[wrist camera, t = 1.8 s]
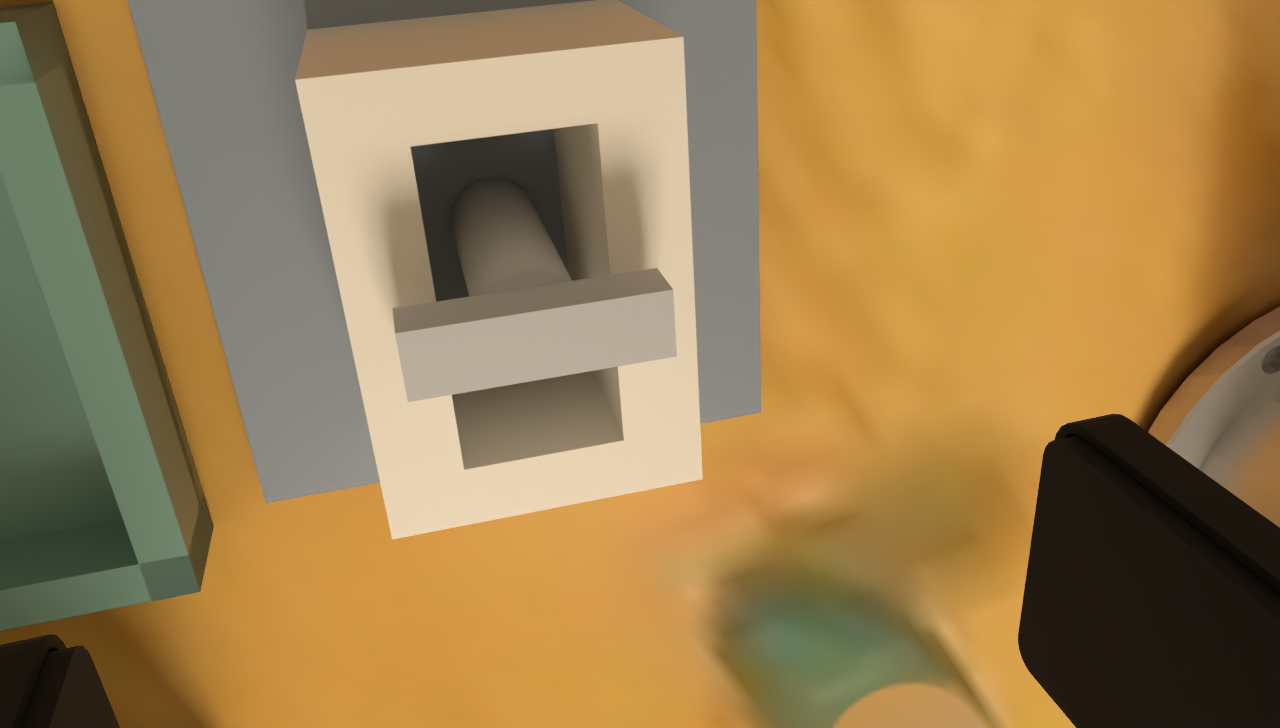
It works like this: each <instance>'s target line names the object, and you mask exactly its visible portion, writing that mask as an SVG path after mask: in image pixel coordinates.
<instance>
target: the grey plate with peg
mask: <svg viewBox="0 0 1280 728" xmlns="http://www.w3.org/2000/svg"><path fill="white" fill-rule="evenodd" d="M583 1H593V0H128V3H129V7H130V10H131V14H132V18H133V21H134V25H135V28H136V32H137V36H138V39H139V43H140V47H141V50H142V54H143V58H144V61H145V65H146V69H147V72H148V76H149V79H150V83H151V87H152V90H153V94H154V98H155V101H156V105H157V109H158V112H159V116H160V120H161V123H162V127H163V130H164V134H165V138H166V141H167V145H168V149H169V152H170V156H171V160H172V163H173V167H174V171H175V174H176V178H177V181H178V185H179V189H180V192H181V196H182V200H183V203H184V207H185V211H186V214H187V218H188V222H189V225H190V229H191V232H192V236H193V240H194V243H195V247H196V251H197V254H198V258H199V262H200V265H201V269H202V273H203V276H204V280H205V284H206V287H207V291H208V294H209V298H210V302H211V305H212V309H213V313H214V316H215V320H216V324H217V327H218V331H219V335H220V338H221V342H222V345H223V349H224V353H225V356H226V360H227V364H228V367H229V371H230V375H231V378H232V382H233V386H234V389H235V393H236V396H237V400H238V404H239V407H240V411H241V415H242V418H243V422H244V426H245V429H246V433H247V437H248V440H249V444H250V447H251V451H252V455H253V458H254V462H255V466H256V469H257V473H258V477H259V480H260V484H261V488H262V491H263V495H264V498H265V502H266V503H270V502H276V501H281V500H287V499H292V498H297V497H303V496H308V495H314V494H319V493H325V492H330V491H336V490H341V489H346V488H352V487H357V486H363V485H368V484H374V483H379V482H380V479H379V474H378V470H377V465H376V460H375V456H374V451H373V446H372V441H371V437H370V432H369V427H368V422H367V418H366V413H365V408H364V404H363V399H362V394H361V389H360V385H359V380H358V375H357V370H356V366H355V361H354V356H353V352H352V347H351V342H350V337H349V333H348V328H347V323H346V319H345V314H344V309H343V304H342V300H341V295H340V290H339V285H338V281H337V276H336V271H335V267H334V262H333V257H332V252H331V248H330V243H329V238H328V233H327V229H326V224H325V219H324V215H323V210H322V205H321V200H320V196H319V191H318V186H317V181H316V177H315V172H314V167H313V163H312V158H311V153H310V148H309V144H308V139H307V134H306V129H305V125H304V120H303V115H302V111H301V106H300V101H299V96H298V92H297V87H296V82H295V78H296V74H297V70H298V66H299V62H300V57H301V53H302V49H303V45H304V41H305V37H306V33H307V30H308V29H318V28H328V27H338V26H347V25H357V24H367V23H377V22H387V21H397V20H406V19H416V18H426V17H436V16H446V15H455V14H465V13H475V12H485V11H495V10H504V9H514V8H524V7H534V6H544V5H554V4H563V3H573V2H583ZM618 1H620V2H622V3H624V4H626V5H627V6H629V7H631V8H633V9H635V10H636V11H638V12H640V13H642V14H643V15H645V16H647V17H649V18H651V19H652V20H654V21H656V22H658V23H660V24H661V25H663V26H665V27H667V28H669V29H670V30H672V31H674V32H676V33H678V34H679V35H681V36H683V37H684V59H685V82H686V106H687V129H688V152H689V176H690V199H691V222H692V245H693V269H694V292H695V315H696V338H697V362H698V385H699V408H700V424H701V423H706V422H712V421H717V420H722V419H728V418H733V417H739V416H744V415H750V414H755V413H761V370H760V287H759V204H758V121H757V37H756V0H618ZM410 148H411V154H412V160H413V166H414V172H415V178H416V184H417V190H418V196H419V202H420V208H421V214H422V220H423V226H424V232H425V238H426V244H427V250H428V256H429V262H430V268H431V274H432V280H433V286H434V292H435V298H436V302H431V303H424V304H418V305H411V306H405V307H398V308H393V318H394V329H395V337H396V342H397V347H398V353H399V358H400V363H401V368H402V374H403V379H404V384H405V390H406V395H407V400H408V402H412V401H418V400H424V399H430V398H436V397H442V396H447V395H453V394H459V393H465V392H471V391H477V390H483V389H489V388H495V387H500V386H506V385H512V384H518V383H524V382H530V381H536V380H542V379H547V378H553V377H559V376H565V375H571V374H577V373H583V372H589V371H594V370H600V369H606V368H612V367H618V366H624V365H630V364H636V363H641V362H647V361H653V360H659V359H665V358H671V357H677V350H676V332H675V313H674V294H673V289H672V287H671V286H670V284H669V283H668V282H667V280H666V279H665V278H664V276H663V275H662V274H661V272H660V271H659V270H658V268H653V269H647V270H640V271H634V272H627V273H620V274H614V275H607V276H601V277H594V278H588V279H581V280H575V281H572V279H571V278H570V276H569V274H568V267H567V257H566V248H565V238H564V228H563V218H562V208H561V199H560V189H559V179H558V169H557V159H556V150H555V140H554V130H553V129H547V130H539V131H531V132H523V133H515V134H507V135H499V136H491V137H483V138H475V139H467V140H459V141H451V142H443V143H435V144H427V145H419V146H411V147H410Z"/></svg>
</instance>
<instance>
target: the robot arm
mask: <svg viewBox="0 0 1280 728" xmlns="http://www.w3.org/2000/svg"><path fill="white" fill-rule="evenodd" d="M1018 644H1019V650H1020V653H1021V656H1022V659H1023V661H1024V663H1025V665H1026V667H1027V669H1028V670H1029V672H1030V673H1031V674H1032V675H1033V677H1034V678H1035V679H1036V680H1037V681H1038V683H1039V684H1040V685H1041V686H1042V687H1043V689H1044V690H1045V691H1046V692H1047V693H1048V694H1049V696H1050V697H1051V698H1052V699H1053V700H1054V702H1055V703H1056V704H1057V705H1058V706H1059V708H1060V709H1061V710H1062V711H1063V712H1064V713H1065V715H1066V716H1067V717H1068V718H1069V719H1070V721H1071V722H1072V723H1073V724H1074V725H1075V727H1076V728H1280V307H1278V308H1276V309H1274V310H1273V311H1271V312H1269V313H1267V314H1265V315H1264V316H1262V317H1260V318H1258V319H1256V320H1255V321H1253V322H1251V323H1250V324H1249V325H1247V326H1246V327H1245V328H1243V329H1242V330H1241V331H1239V332H1238V333H1237V334H1235V335H1234V336H1233V337H1231V338H1230V339H1229V340H1227V341H1226V342H1225V343H1223V344H1222V345H1221V346H1219V347H1218V348H1217V349H1216V350H1215V351H1214V352H1213V353H1212V354H1211V355H1210V356H1208V357H1207V358H1206V359H1205V360H1204V361H1203V362H1202V363H1201V364H1200V365H1199V366H1198V367H1197V368H1196V369H1195V370H1194V371H1193V372H1192V373H1191V374H1190V375H1189V376H1188V377H1187V378H1186V379H1185V380H1184V382H1183V383H1182V384H1181V385H1180V387H1179V388H1178V389H1177V390H1176V392H1175V393H1174V394H1173V396H1172V397H1171V398H1170V399H1169V401H1168V402H1167V403H1166V404H1165V406H1164V407H1163V408H1162V409H1161V411H1160V412H1159V414H1158V416H1157V417H1156V419H1155V421H1154V422H1153V424H1152V426H1151V427H1150V429H1149V431H1148V432H1147V431H1145V430H1144V429H1142V428H1141V427H1140V426H1138V425H1137V424H1136V423H1134V422H1133V421H1131V420H1130V419H1128V418H1126V417H1124V416H1122V415H1120V414H1110V415H1105V416H1101V417H1096V418H1091V419H1086V420H1081V421H1077V422H1072V423H1067V424H1066V425H1064V426H1062V427H1061V428H1060V429H1059V431H1058V432H1057V433H1056V437H1055V440H1054V441H1052V442H1050V443H1048V445H1047V446H1046V448H1045V451H1044V454H1043V461H1042V468H1041V475H1040V482H1039V489H1038V497H1037V504H1036V511H1035V518H1034V525H1033V533H1032V540H1031V547H1030V554H1029V561H1028V569H1027V576H1026V583H1025V590H1024V597H1023V605H1022V612H1021V619H1020V626H1019V633H1018ZM0 728H120V727H119V725H118V722H117V720H116V717H115V715H114V712H113V710H112V707H111V705H110V702H109V700H108V698H107V695H106V693H105V690H104V688H103V685H102V683H101V680H100V678H99V675H98V673H97V670H96V668H95V665H94V663H93V660H92V658H91V656H90V654H89V652H88V651H87V650H86V649H85V648H84V647H83V646H76V647H71V648H66V647H65V645H64V643H63V641H62V640H61V639H60V638H59V637H58V636H56V635H46V636H41V637H36V638H32V639H27V640H22V641H17V642H12V643H7V644H3V645H0Z"/></svg>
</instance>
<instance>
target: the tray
mask: <svg viewBox="0 0 1280 728" xmlns="http://www.w3.org/2000/svg"><path fill="white" fill-rule="evenodd" d="M212 531H213V524H212V521H211V517H210V514H209V511H208V508H207V504H206V501H205V498H204V495H203V491H202V488H201V485H200V482H199V478H198V475H197V472H196V468H195V465H194V462H193V459H192V455H191V452H190V449H189V446H188V442H187V439H186V436H185V432H184V429H183V426H182V423H181V419H180V416H179V413H178V410H177V406H176V403H175V400H174V397H173V393H172V390H171V387H170V383H169V380H168V377H167V374H166V370H165V367H164V364H163V361H162V357H161V354H160V351H159V348H158V344H157V341H156V338H155V334H154V331H153V328H152V325H151V321H150V318H149V315H148V312H147V308H146V305H145V302H144V298H143V295H142V292H141V289H140V285H139V282H138V279H137V276H136V272H135V269H134V266H133V263H132V259H131V256H130V253H129V249H128V246H127V243H126V240H125V236H124V233H123V230H122V227H121V223H120V220H119V217H118V214H117V210H116V207H115V204H114V200H113V197H112V194H111V191H110V187H109V184H108V181H107V178H106V174H105V171H104V168H103V164H102V161H101V158H100V155H99V151H98V148H97V145H96V142H95V138H94V135H93V132H92V129H91V125H90V122H89V119H88V115H87V112H86V109H85V106H84V102H83V99H82V96H81V93H80V89H79V86H78V83H77V80H76V76H75V73H74V70H73V66H72V63H71V60H70V57H69V53H68V50H67V47H66V44H65V40H64V37H63V34H62V31H61V27H60V24H59V21H58V17H57V14H56V11H55V8H54V4H53V3H43V4H32V5H21V6H11V7H0V631H3V630H8V629H13V628H18V627H23V626H28V625H33V624H38V623H43V622H48V621H53V620H59V619H64V618H69V617H74V616H79V615H84V614H89V613H94V612H99V611H104V610H109V609H114V608H120V607H125V606H130V605H135V604H140V603H145V602H150V601H155V600H160V599H165V598H170V597H176V596H181V595H186V594H191V593H196V592H200V590H201V585H202V580H203V575H204V571H205V566H206V561H207V556H208V551H209V546H210V541H211V536H212Z"/></svg>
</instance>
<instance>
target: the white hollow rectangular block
mask: <svg viewBox="0 0 1280 728" xmlns="http://www.w3.org/2000/svg"><path fill="white" fill-rule="evenodd" d="M295 82H296V87H297V92H298V96H299V101H300V106H301V111H302V115H303V120H304V125H305V129H306V134H307V139H308V144H309V148H310V153H311V158H312V163H313V167H314V172H315V177H316V181H317V186H318V191H319V196H320V200H321V205H322V210H323V215H324V219H325V224H326V229H327V233H328V238H329V243H330V248H331V252H332V257H333V262H334V267H335V271H336V276H337V281H338V285H339V290H340V295H341V300H342V304H343V309H344V314H345V319H346V323H347V328H348V333H349V337H350V342H351V347H352V352H353V356H354V361H355V366H356V370H357V375H358V380H359V385H360V389H361V394H362V399H363V404H364V408H365V413H366V418H367V422H368V427H369V432H370V437H371V441H372V446H373V451H374V456H375V460H376V465H377V470H378V474H379V479H380V484H381V489H382V493H383V498H384V503H385V508H386V512H387V517H388V522H389V526H390V531H391V536H392V539H397V538H402V537H407V536H412V535H417V534H422V533H428V532H433V531H438V530H443V529H448V528H453V527H459V526H464V525H469V524H474V523H479V522H484V521H489V520H495V519H500V518H505V517H510V516H515V515H520V514H526V513H531V512H536V511H541V510H546V509H551V508H556V507H562V506H567V505H572V504H577V503H582V502H587V501H593V500H598V499H603V498H608V497H613V496H618V495H623V494H629V493H634V492H639V491H644V490H649V489H654V488H659V487H665V486H670V485H675V484H680V483H685V482H690V481H696V480H701V479H703V478H702V455H701V432H700V408H699V385H698V362H697V338H696V315H695V292H694V269H693V245H692V222H691V199H690V176H689V152H688V129H687V106H686V82H685V59H684V37H683V36H681V35H679V34H678V33H676V32H674V31H672V30H670V29H669V28H667V27H665V26H663V25H661V24H660V23H658V22H656V21H654V20H652V19H651V18H649V17H647V16H645V15H643V14H642V13H640V12H638V11H636V10H635V9H633V8H631V7H629V6H627V5H626V4H624V3H622V2H620V1H618V0H593V1H583V2H573V3H563V4H554V5H544V6H534V7H524V8H514V9H504V10H495V11H485V12H475V13H465V14H455V15H446V16H436V17H426V18H416V19H406V20H397V21H387V22H377V23H367V24H357V25H347V26H338V27H328V28H318V29H308V30H307V33H306V37H305V41H304V45H303V49H302V53H301V57H300V62H299V66H298V70H297V74H296V78H295ZM547 129H553V130H554V140H555V150H556V159H557V169H558V179H559V189H560V199H561V208H562V218H563V228H564V238H565V248H566V257H567V267H568V274H569V276H570V278H571V279H572V281H575V280H581V279H588V278H594V277H601V276H607V275H614V274H620V273H627V272H634V271H640V270H647V269H653V268H658V270H659V271H660V272H661V274H662V275H663V276H664V278H665V279H666V280H667V282H668V283H669V284H670V286H671V287H672V289H673V294H674V313H675V332H676V350H677V357H671V358H665V359H659V360H653V361H647V362H641V363H636V364H630V365H624V366H618V367H612V368H606V369H600V370H594V371H589V372H583V373H577V374H571V375H565V376H559V377H553V378H547V379H542V380H536V381H530V382H524V383H518V384H512V385H506V386H500V387H495V388H489V389H483V390H477V391H471V392H465V393H459V394H453V395H447V396H442V397H436V398H430V399H424V400H418V401H412V402H408V400H407V395H406V390H405V384H404V379H403V374H402V368H401V363H400V358H399V353H398V347H397V342H396V337H395V329H394V318H393V308H398V307H405V306H411V305H418V304H424V303H431V302H436V298H435V292H434V286H433V280H432V274H431V268H430V262H429V256H428V250H427V244H426V238H425V232H424V226H423V220H422V214H421V208H420V202H419V196H418V190H417V184H416V178H415V172H414V166H413V160H412V154H411V148H410V147H411V146H419V145H427V144H435V143H443V142H451V141H459V140H467V139H475V138H483V137H491V136H499V135H507V134H515V133H523V132H531V131H539V130H547Z"/></svg>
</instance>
